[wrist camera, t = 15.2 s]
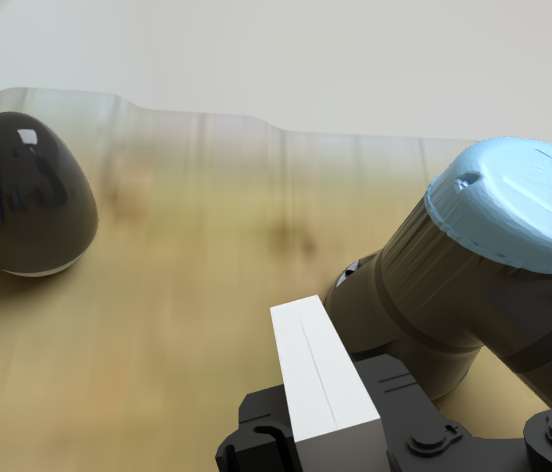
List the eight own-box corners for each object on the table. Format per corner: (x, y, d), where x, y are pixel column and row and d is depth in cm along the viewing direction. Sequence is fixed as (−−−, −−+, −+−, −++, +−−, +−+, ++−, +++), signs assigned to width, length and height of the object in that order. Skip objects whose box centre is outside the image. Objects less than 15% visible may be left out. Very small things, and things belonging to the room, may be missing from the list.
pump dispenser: (39, 184, 47) (7, 54, 35) (123, 238, 46) (119, 121, 34) (-51, 252, 41) (-127, 121, 29) (43, 315, 40) (4, 207, 28)
